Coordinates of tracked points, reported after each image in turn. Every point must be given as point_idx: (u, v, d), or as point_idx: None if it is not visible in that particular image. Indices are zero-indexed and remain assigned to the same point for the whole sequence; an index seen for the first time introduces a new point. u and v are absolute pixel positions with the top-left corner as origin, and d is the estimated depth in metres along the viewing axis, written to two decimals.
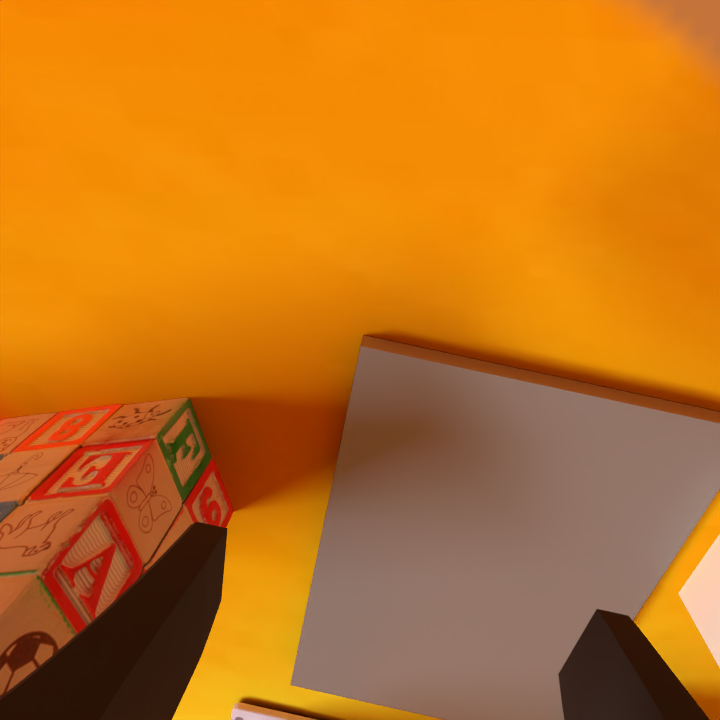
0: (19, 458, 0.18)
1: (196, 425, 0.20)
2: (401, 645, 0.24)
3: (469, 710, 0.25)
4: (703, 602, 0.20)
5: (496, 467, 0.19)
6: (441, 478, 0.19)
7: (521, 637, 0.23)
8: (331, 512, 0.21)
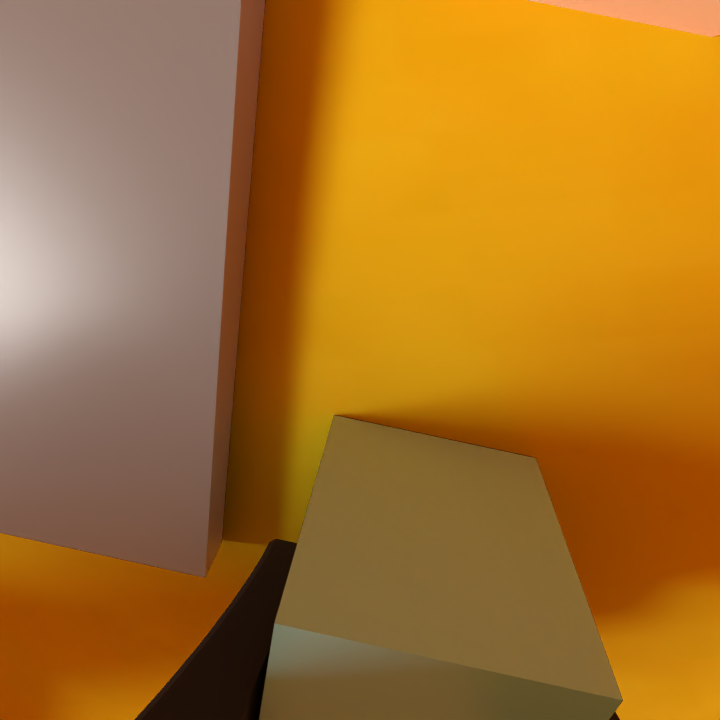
0: None
1: None
2: None
3: None
4: None
5: None
6: None
7: None
8: None
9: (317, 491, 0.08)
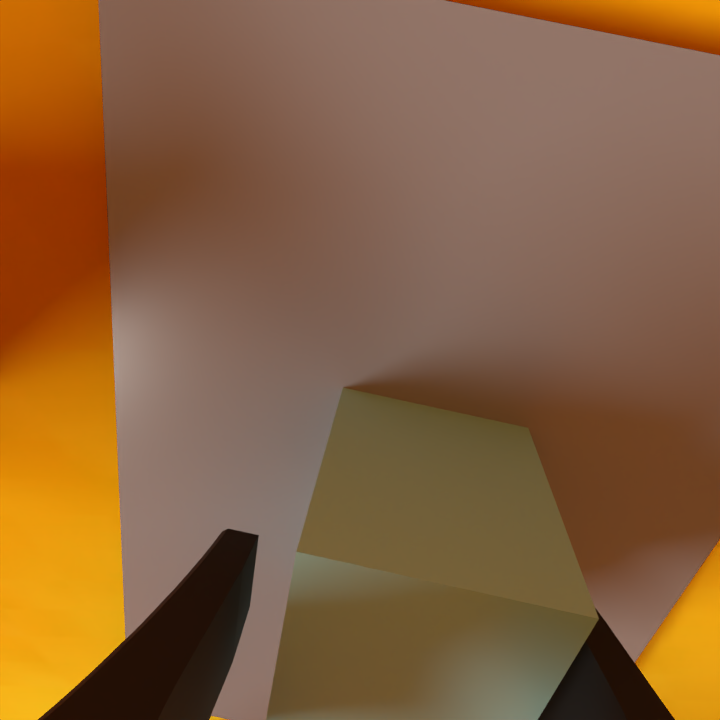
0: None
1: None
2: None
3: None
4: None
5: (423, 251, 0.09)
6: (315, 285, 0.10)
7: None
8: (123, 373, 0.11)
9: (329, 450, 0.08)
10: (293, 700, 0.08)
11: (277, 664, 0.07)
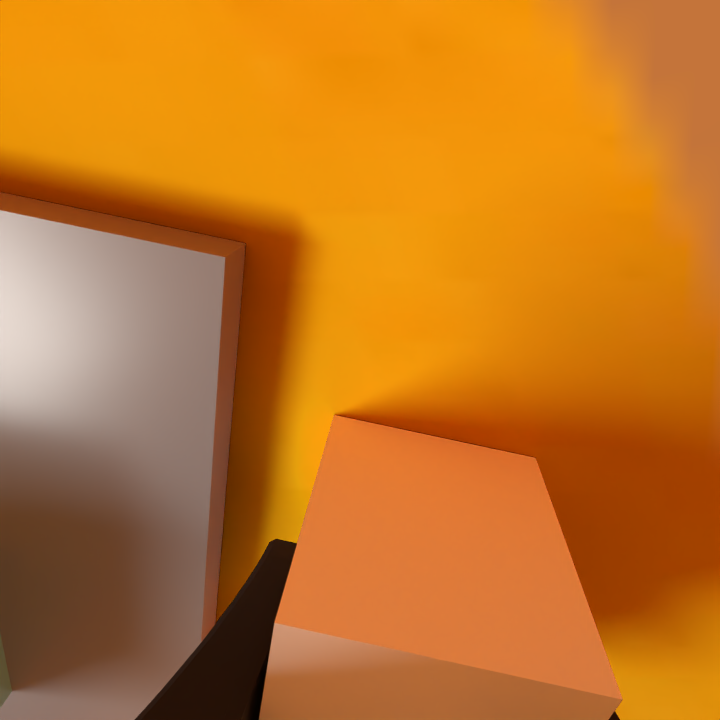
0: None
1: None
2: None
3: None
4: None
5: None
6: None
7: (45, 692, 0.13)
8: None
9: None
10: None
11: None
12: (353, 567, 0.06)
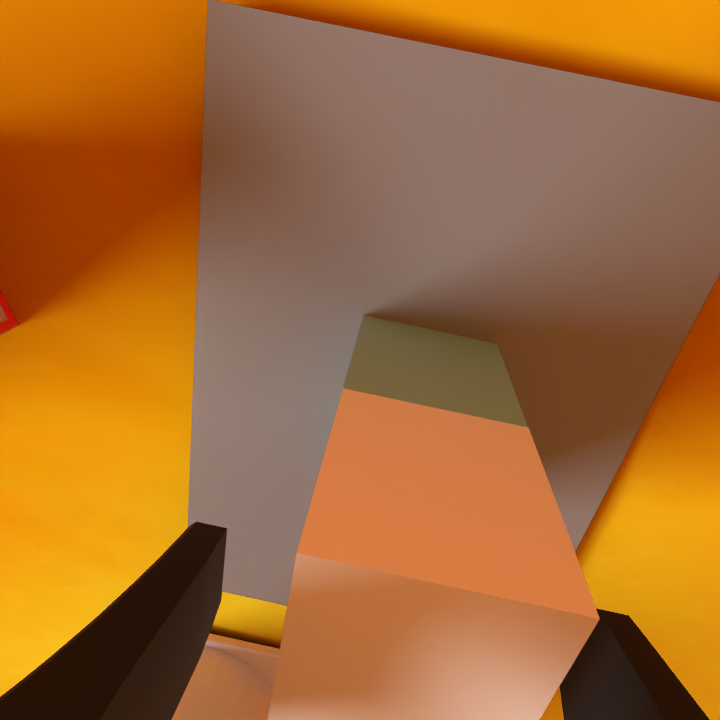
0: None
1: None
2: None
3: None
4: None
5: (421, 213, 0.13)
6: (345, 238, 0.14)
7: None
8: (203, 306, 0.15)
9: (357, 345, 0.13)
10: None
11: None
12: (364, 512, 0.07)
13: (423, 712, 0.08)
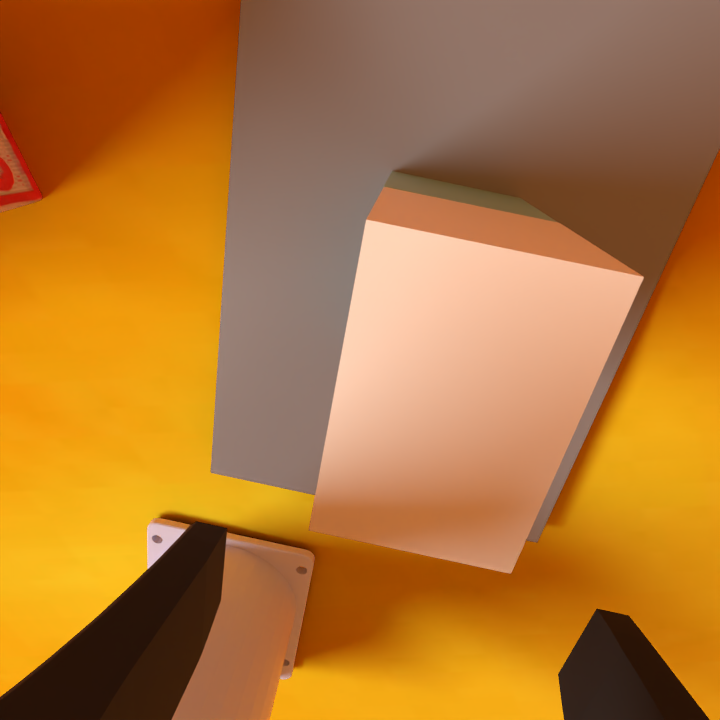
0: None
1: None
2: None
3: None
4: None
5: (450, 59, 0.14)
6: (377, 88, 0.14)
7: None
8: (237, 166, 0.16)
9: (391, 177, 0.13)
10: None
11: None
12: (421, 219, 0.08)
13: (474, 414, 0.08)
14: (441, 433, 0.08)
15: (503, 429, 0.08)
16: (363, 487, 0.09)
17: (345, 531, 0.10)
